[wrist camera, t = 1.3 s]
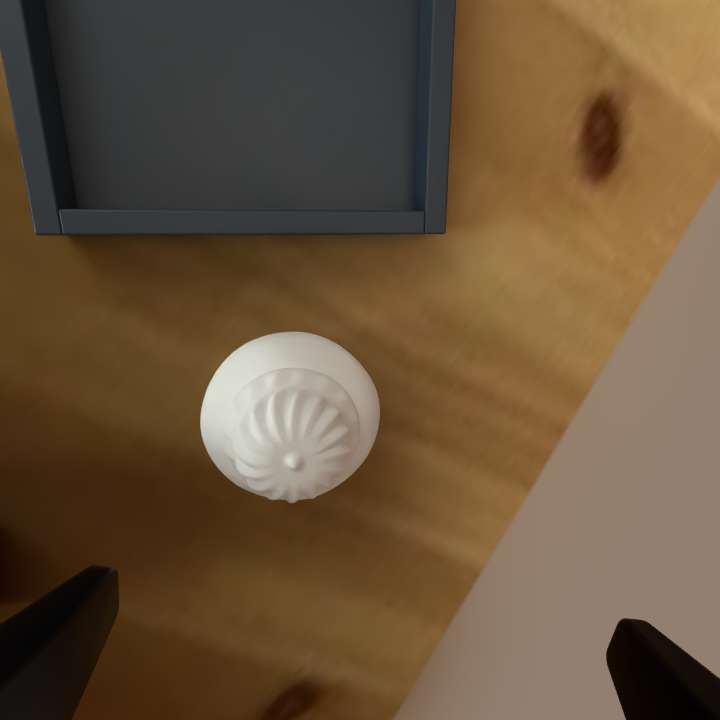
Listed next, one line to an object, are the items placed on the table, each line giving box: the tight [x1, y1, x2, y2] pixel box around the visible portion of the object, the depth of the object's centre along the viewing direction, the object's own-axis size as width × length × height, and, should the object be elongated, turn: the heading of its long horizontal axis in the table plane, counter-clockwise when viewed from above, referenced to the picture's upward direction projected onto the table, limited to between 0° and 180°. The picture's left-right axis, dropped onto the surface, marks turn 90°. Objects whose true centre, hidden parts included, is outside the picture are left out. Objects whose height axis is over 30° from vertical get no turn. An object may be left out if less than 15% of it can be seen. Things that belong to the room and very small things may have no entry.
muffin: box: [200, 332, 380, 503], centre depth 16 cm, size 6×6×7 cm
